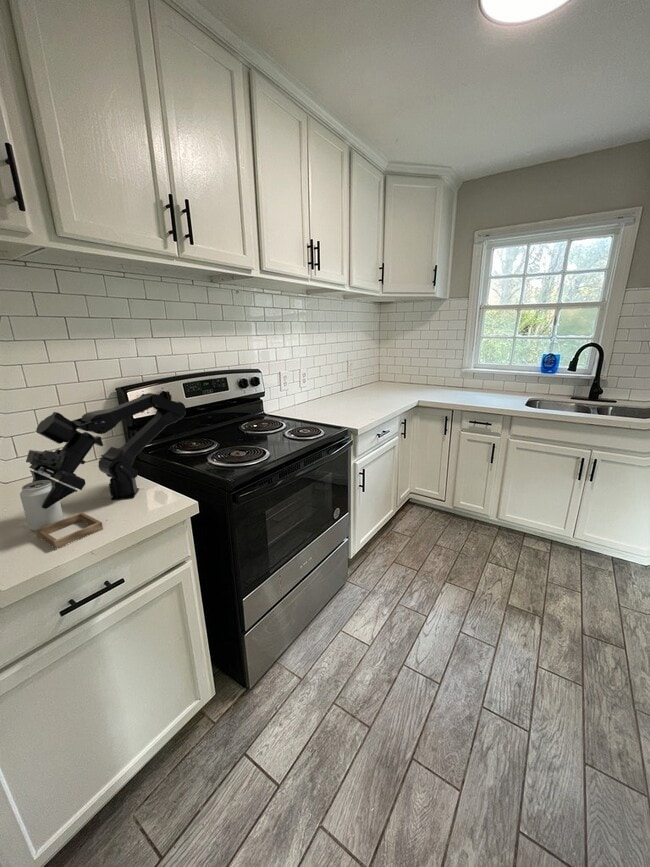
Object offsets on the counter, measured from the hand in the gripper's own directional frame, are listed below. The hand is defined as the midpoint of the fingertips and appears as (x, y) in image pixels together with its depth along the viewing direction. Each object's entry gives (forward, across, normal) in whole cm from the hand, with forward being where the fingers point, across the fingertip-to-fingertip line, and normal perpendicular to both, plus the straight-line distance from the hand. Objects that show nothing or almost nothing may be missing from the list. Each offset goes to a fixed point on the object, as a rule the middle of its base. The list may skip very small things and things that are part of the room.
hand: (35, 503), depth 91 cm
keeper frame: (+3, +10, +7) cm, 12 cm away
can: (+4, 0, +6) cm, 7 cm away
